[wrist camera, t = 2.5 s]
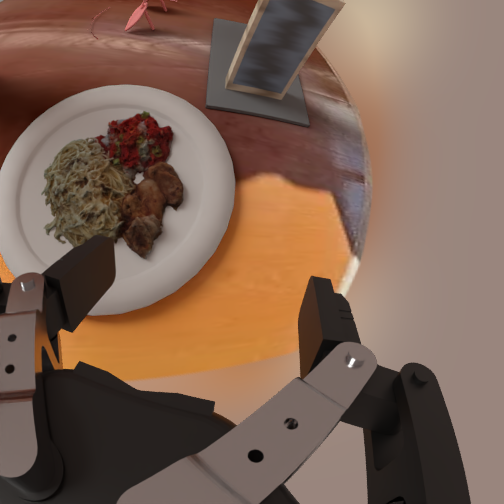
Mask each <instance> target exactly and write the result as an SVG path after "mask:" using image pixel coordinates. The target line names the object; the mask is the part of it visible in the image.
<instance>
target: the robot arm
mask: <svg viewBox="0 0 504 504" xmlns="http://www.w3.org/2000/svg"><path fill="white" fill-rule="evenodd" d="M115 277H116V264H115V249H114V241H113V239H112V238H111V237H106V236H101V235H94V236H93V237H91V238H90V239H89V240H87V241H86V242H85V243H83V244H82V245H79V246H77V247H74V248H73V249H71V250H70V251H69V252H68V253H66V255H64V256H62V257H61V258H60V260H57V261H56V262H55V263H54V264H52V265H51V266H50V267H49V268H48V269H46V270H45V271H44V272H43V273H42V274H39V273H36V272H29V273H25V274H22V275H20V276H18V277H17V278H16V279H15V280H14V281H13V282H12V283H2V282H1V278H0V504H299V502H298V501H297V500H296V499H295V498H294V496H293V495H292V494H291V493H290V491H288V489H287V488H286V486H285V485H284V484H285V483H286V482H287V481H288V480H289V479H290V478H291V477H292V476H293V475H294V474H295V473H296V472H297V471H298V469H299V468H300V467H301V466H302V465H303V464H304V463H305V462H306V461H307V460H308V459H309V457H310V456H311V455H312V454H313V453H314V452H315V450H316V449H317V448H318V447H319V446H320V445H321V444H322V442H323V441H324V440H325V439H326V438H327V437H328V435H329V434H330V433H331V432H332V431H333V429H334V428H335V427H336V426H337V424H338V423H339V422H340V421H342V422H345V423H348V424H351V425H354V426H358V427H361V428H363V433H364V444H365V456H366V471H367V489H368V504H471V502H470V496H469V490H468V485H467V480H466V476H465V471H464V467H463V462H462V458H461V454H460V451H459V447H458V443H457V439H456V436H455V432H454V429H453V426H452V422H451V419H450V416H449V413H448V410H447V407H446V404H445V401H444V398H443V395H442V392H441V389H440V387H439V384H438V381H437V379H436V376H435V375H434V373H432V371H431V370H429V369H428V368H427V367H425V366H424V365H421V364H418V363H408V364H406V365H404V366H403V367H402V369H401V371H400V372H397V371H394V370H391V369H388V368H385V367H382V366H379V365H378V364H377V360H376V357H375V355H374V354H373V353H372V351H371V350H369V349H368V348H367V347H365V346H363V345H361V342H360V338H359V335H358V332H357V328H356V325H355V322H354V321H353V319H354V318H353V315H352V313H351V309H350V306H349V303H348V301H347V300H346V299H345V298H344V297H343V296H342V294H339V293H334V290H333V286H332V283H331V280H330V279H326V278H321V277H315V276H311V277H310V279H309V282H308V285H307V289H306V292H305V295H304V298H303V302H302V305H301V308H300V312H299V318H298V333H299V353H300V376H301V378H300V377H297V378H295V379H294V380H292V381H291V382H290V383H289V384H288V385H286V386H285V387H284V388H283V389H282V390H281V391H280V392H278V393H277V394H276V395H275V396H274V397H273V398H271V399H270V400H269V401H268V402H266V403H265V404H264V405H263V406H262V407H260V408H259V409H258V410H257V411H255V412H254V413H253V414H252V415H250V416H249V417H248V418H246V419H245V420H244V421H243V422H242V423H240V424H239V425H235V424H234V423H233V422H231V421H230V420H228V419H227V418H225V417H223V416H221V415H219V414H217V413H215V412H214V405H215V402H214V401H210V400H205V399H200V398H196V397H191V396H187V395H183V394H179V393H165V392H150V391H140V390H137V389H135V388H133V387H131V386H130V385H128V384H126V383H125V382H123V381H122V380H120V379H118V378H117V377H115V376H114V375H112V374H111V373H109V372H107V371H104V370H102V369H99V368H96V367H94V366H91V365H89V364H86V363H84V362H81V361H79V363H78V364H77V366H76V367H75V369H74V370H73V369H63V362H62V352H61V340H60V335H59V331H60V329H61V328H62V329H64V330H67V331H69V332H72V333H73V331H74V330H75V329H76V328H77V326H78V325H79V324H80V323H81V321H82V320H83V319H84V318H85V317H86V315H87V314H88V313H89V312H90V311H91V309H92V308H93V307H94V306H95V305H96V303H97V302H98V301H99V300H100V299H101V298H102V296H103V295H104V294H105V293H106V292H107V291H108V289H109V288H110V287H111V286H112V285H113V283H114V280H115Z"/></svg>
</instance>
